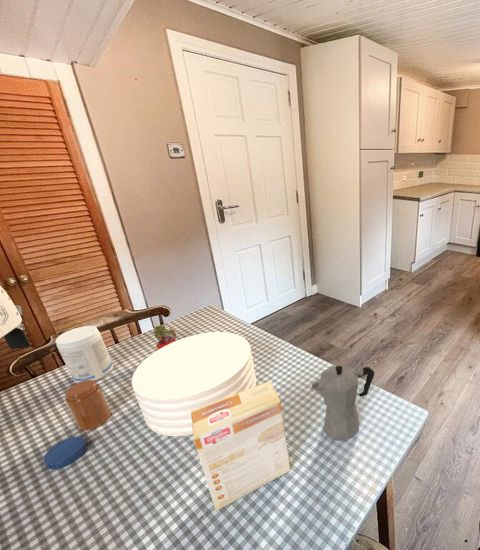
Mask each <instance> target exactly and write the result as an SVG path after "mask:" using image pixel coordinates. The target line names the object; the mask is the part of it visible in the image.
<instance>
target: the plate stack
mask: <svg viewBox="0 0 480 550" xmlns="http://www.w3.org/2000/svg"><path fill="white" fill-rule="evenodd" d="M255 386H257V377H256V372H255V367H254V361H253V355H252V348H251V345H250V342H249V341H248V340H247V339H246V338H245V337H243V336H242V335H240V334H237V333H233V332H227V331H211V332H210V331H209V332H203V333H199V334H194V335H189V336H186V337H183V338H179V340H178V339H177V340H175V342H173V343H170V344H168V345H166V346H164V347H162V348H161V349H157V350H156V351H154V352H153V353H151V354H150V355H149V356H147V357H146V358H145V359H144V360H143V361H142V362H140V364H139V365H138V366H137V368H136V369H135V370H134V372H133V374H132V377H131V387H132V390H133V392H134V395H135V397H136V401H137V403H138V406H139V408H140V411H141V414H142V417H143V419H144V422H145V424H146V426H147V427H148V429H150V431H152V432H154V433H155V434H158V435H161V436H167V437H186V436H191V435H192V436H193V430H192V419H191V411H193V410H196V409H198V408H201V407H204V406H206V405H209V404H211V403H214V402H217V401H219V400H222V399H224V398H227V397H229V396H232V395H235V394H237V393H240V392H242V391H245V390H248V389H250V388H253V387H255Z"/></svg>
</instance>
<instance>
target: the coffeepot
mask: <svg viewBox="0 0 480 550" xmlns="http://www.w3.org/2000/svg"><path fill="white" fill-rule="evenodd" d="M364 376H366V377H365V382H364V384H363V390H362V391H361V392H360V393H358V385H359V378H362V377H364ZM374 377H375V371H374V370H373V369H372V368H371V367H369V366H365V367H363V368H362V367H358V368H355V369H354V368H353V367H351V366H350V365H349V364H345V365H342V364H341V365H339V364H337V365H331V366H330V367H329V368H327V369H325V370H324V371H321V374H320V378H318V379H317V380H316V381H314V382H313V383H312V384H311V390H314V391H316V392H317V393H318V394H319V395H320V396H321V397H322V399H323V401H324V405H325V406H326V409H325V416H324V425H323V432H324V434H326V436H327V437H328V438H329V439H331V440H332V441H336V442H337V441H338V442H341V441H342V442H343V441H349V440H351V438H353V437H354V436H355V435H356V434H357V433H358V432H359V430H360V417H359V413H358V409H357V405H356V400H357V399H356V398H357V393H358V396H359V397H360V398H361V397H365V396H367V395H368V393H369V391H370V388H371V385H372V382H373V380H374Z"/></svg>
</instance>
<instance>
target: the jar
mask: <svg viewBox="0 0 480 550" xmlns="http://www.w3.org/2000/svg"><path fill="white" fill-rule="evenodd" d="M64 402H65V403H66V405H67V407H68V410H69V411H70V413H71V416H72V417H73V420H74V421H75V423H76V426H77V427H78V429H79V431H83V432H84V431H91V430H95V429H97V428H98V427H100V426H102V425H104V424H105V423H107V422H108V420H109V419H110V418H111V416H112V412H111V409H110V407H109V404H108V402H107V400H106V397H105V395H104V393H103V390H102V388H101V386H100V384H98V383H96V381H93V380H85V381H81V382H79V383H76V382H75V383H74V384H73V385H71V386H69V387H68V388H67V389H66V391H65V398H64Z"/></svg>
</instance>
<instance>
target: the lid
mask: <svg viewBox="0 0 480 550" xmlns="http://www.w3.org/2000/svg"><path fill="white" fill-rule="evenodd" d="M87 449H88V443H87V441H86V440H85V438H84V437H82V436H79V435H78V436H71V437H68V438H66V439H64V440H61V441H59V442H58V443H56V444H54V445H53V446H52V447H51V448H50V449H48V451H46V452H45V454H44V456H43V462H44V465H45V466H46V467H47V469H49V470H60V469H63V468H65V467H68V466H70V465H71V464H73V463H75V462H77V461H78V460H79V459H80V458H82V456H83V455H84V454H85V453H86V451H87Z"/></svg>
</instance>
